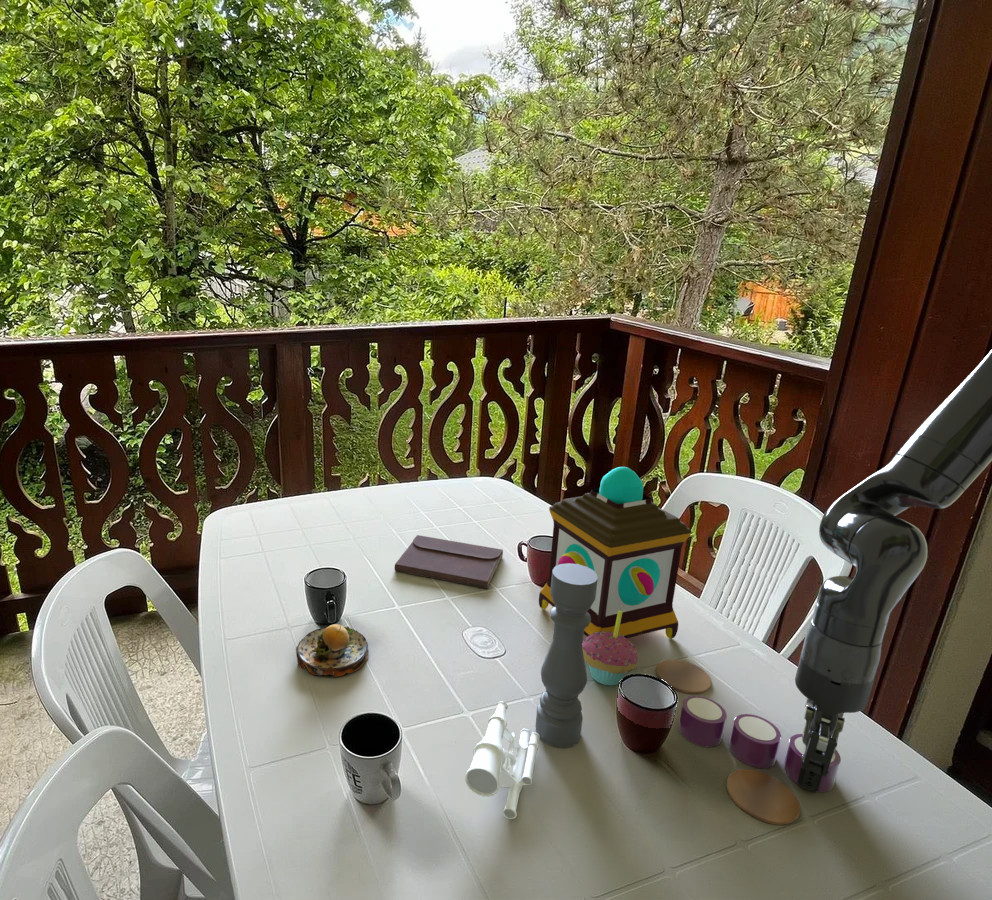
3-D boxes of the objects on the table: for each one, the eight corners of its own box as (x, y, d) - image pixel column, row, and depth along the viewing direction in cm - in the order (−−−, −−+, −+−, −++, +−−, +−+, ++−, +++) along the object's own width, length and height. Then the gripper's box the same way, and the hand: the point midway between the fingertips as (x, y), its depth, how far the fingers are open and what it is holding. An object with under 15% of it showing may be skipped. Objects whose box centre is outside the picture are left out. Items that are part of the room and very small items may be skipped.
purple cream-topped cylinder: (724, 728, 90) (729, 705, 89) (718, 753, 86) (723, 728, 85) (682, 712, 93) (687, 689, 92) (674, 735, 89) (678, 711, 88)
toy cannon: (514, 745, 89) (544, 730, 87) (496, 827, 77) (530, 812, 74) (477, 702, 89) (506, 686, 87) (453, 778, 77) (486, 761, 74)
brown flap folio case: (487, 589, 126) (487, 580, 126) (394, 571, 133) (394, 562, 132) (502, 556, 140) (503, 548, 139) (417, 541, 146) (417, 533, 146)
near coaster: (801, 790, 80) (802, 788, 80) (797, 836, 74) (798, 834, 74) (731, 762, 84) (731, 759, 84) (721, 803, 78) (722, 800, 78)
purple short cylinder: (834, 770, 83) (841, 745, 82) (833, 799, 79) (840, 773, 78) (785, 751, 86) (790, 727, 85) (781, 778, 82) (787, 753, 81)
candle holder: (526, 732, 89) (541, 574, 82) (549, 709, 94) (564, 557, 86) (566, 755, 85) (586, 591, 78) (588, 730, 90) (608, 573, 82)
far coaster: (714, 673, 102) (715, 671, 102) (705, 701, 96) (706, 698, 96) (662, 655, 106) (662, 653, 106) (650, 680, 100) (650, 678, 100)
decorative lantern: (613, 586, 128) (631, 444, 118) (688, 642, 110) (717, 479, 101) (527, 605, 121) (539, 455, 112) (593, 667, 103) (614, 495, 94)
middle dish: (777, 748, 87) (783, 724, 86) (773, 775, 82) (779, 750, 81) (731, 731, 90) (736, 707, 89) (725, 756, 85) (730, 731, 84)
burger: (358, 629, 113) (358, 592, 110) (377, 670, 102) (377, 630, 100) (291, 641, 109) (289, 603, 107) (303, 685, 99) (301, 643, 96)
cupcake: (595, 653, 107) (603, 590, 103) (644, 676, 101) (654, 611, 97) (568, 676, 101) (575, 610, 97) (618, 702, 95) (628, 633, 92)
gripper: (805, 623, 85) (780, 726, 90) (797, 681, 74) (769, 795, 79) (874, 643, 81) (844, 750, 86) (877, 707, 70) (842, 825, 75)
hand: (808, 771), depth 82 cm, fingers closed on purple short cylinder, 5 cm apart
